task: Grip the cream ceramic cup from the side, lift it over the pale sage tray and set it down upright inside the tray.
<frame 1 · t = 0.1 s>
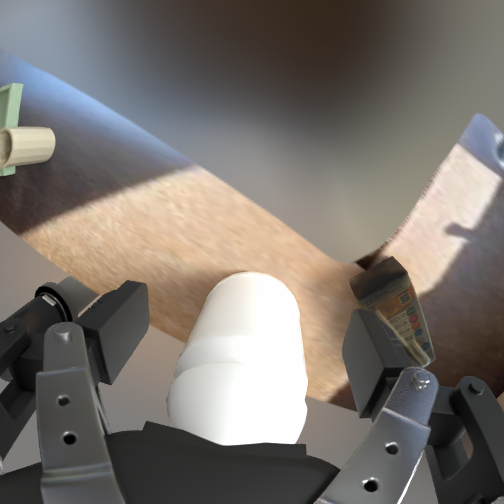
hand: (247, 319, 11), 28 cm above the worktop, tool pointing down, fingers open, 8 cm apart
beverage carton: (390, 312, 42), on the worktop
cup: (43, 144, 37), on the worktop
bottle: (251, 311, 43), on the worktop
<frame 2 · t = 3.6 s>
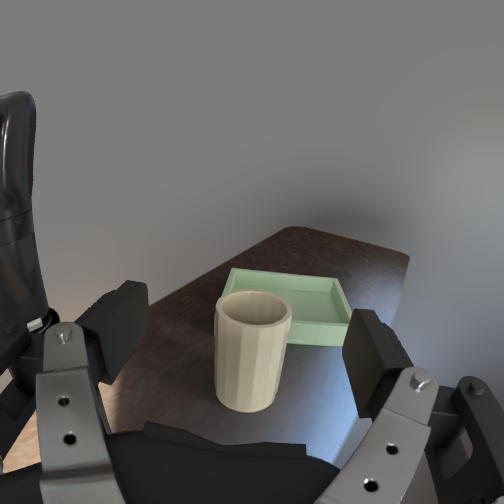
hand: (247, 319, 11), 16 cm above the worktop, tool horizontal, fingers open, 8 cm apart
cup: (245, 390, 27), on the worktop
tray: (283, 312, 41), on the worktop
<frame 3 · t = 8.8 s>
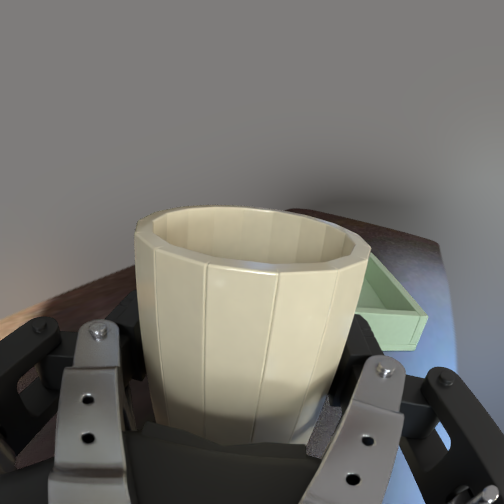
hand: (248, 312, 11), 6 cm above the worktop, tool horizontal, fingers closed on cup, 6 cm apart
cup: (231, 446, 11), on the worktop, touching gripper
tray: (298, 299, 26), on the worktop
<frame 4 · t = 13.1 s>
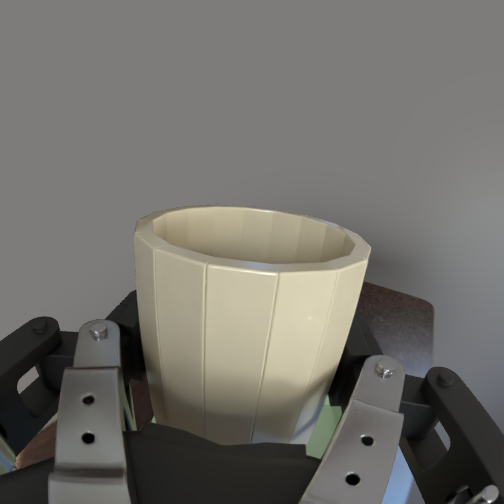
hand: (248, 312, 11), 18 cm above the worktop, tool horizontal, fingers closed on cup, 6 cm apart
cup: (231, 446, 11), point 12 cm above the worktop, touching gripper
tray: (252, 453, 21), on the worktop
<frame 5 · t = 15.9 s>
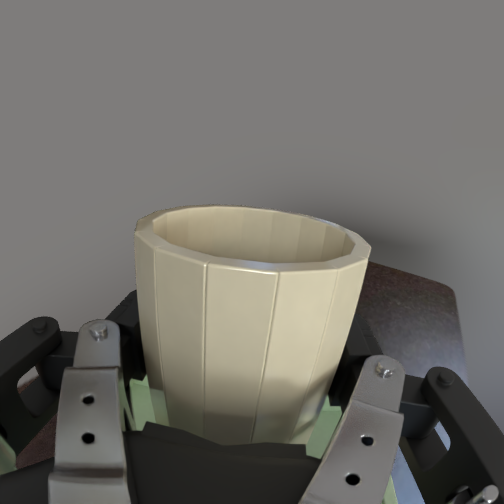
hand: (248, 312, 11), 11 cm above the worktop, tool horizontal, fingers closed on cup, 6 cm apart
cup: (231, 446, 11), point 5 cm above the worktop, touching gripper
tray: (226, 483, 13), on the worktop
when the fingers open (7 cm above the worktop, at t = 17.8 s): cup stays where it is, resting on tray.
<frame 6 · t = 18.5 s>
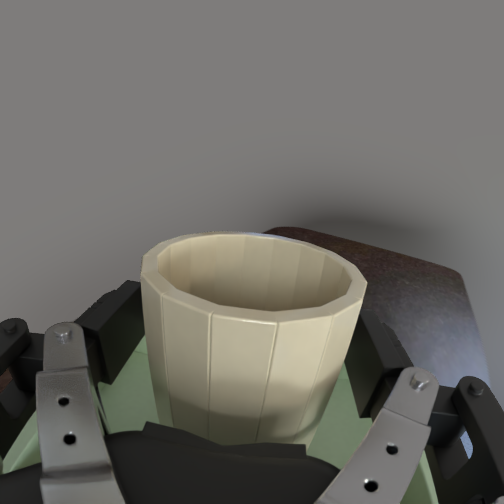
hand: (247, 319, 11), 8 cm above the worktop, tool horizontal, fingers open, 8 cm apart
cup: (233, 456, 11), point 1 cm above the worktop, touching tray
tray: (231, 460, 11), on the worktop
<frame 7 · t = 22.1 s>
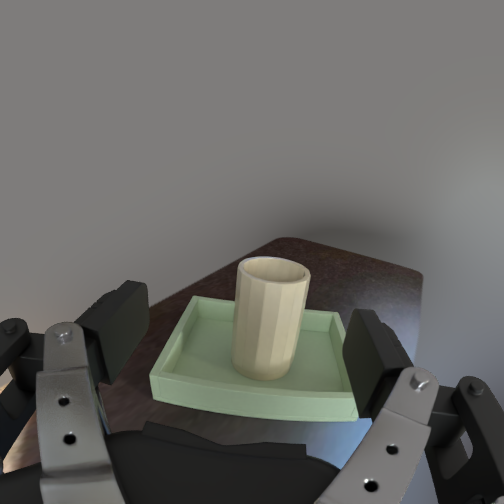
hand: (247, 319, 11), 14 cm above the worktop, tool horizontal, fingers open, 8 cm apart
cup: (261, 360, 28), point 1 cm above the worktop, touching tray
tray: (260, 364, 28), on the worktop
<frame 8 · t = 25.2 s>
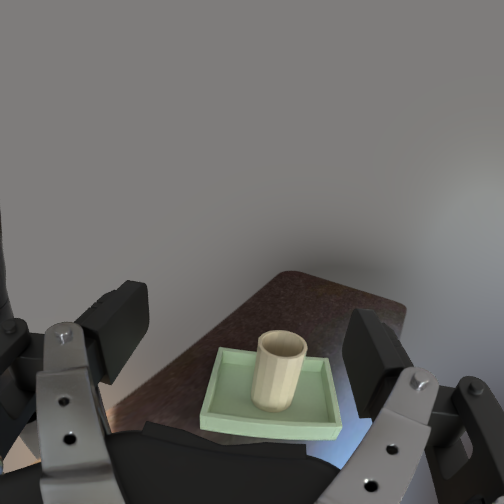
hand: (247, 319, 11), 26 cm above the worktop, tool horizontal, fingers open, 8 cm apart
cup: (271, 397, 38), point 1 cm above the worktop, touching tray
tray: (270, 399, 38), on the worktop
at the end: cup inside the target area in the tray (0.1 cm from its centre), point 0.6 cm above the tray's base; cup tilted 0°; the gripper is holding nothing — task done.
